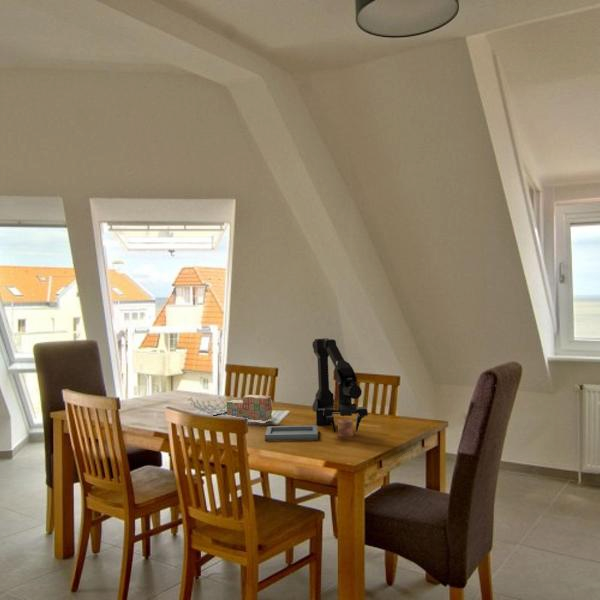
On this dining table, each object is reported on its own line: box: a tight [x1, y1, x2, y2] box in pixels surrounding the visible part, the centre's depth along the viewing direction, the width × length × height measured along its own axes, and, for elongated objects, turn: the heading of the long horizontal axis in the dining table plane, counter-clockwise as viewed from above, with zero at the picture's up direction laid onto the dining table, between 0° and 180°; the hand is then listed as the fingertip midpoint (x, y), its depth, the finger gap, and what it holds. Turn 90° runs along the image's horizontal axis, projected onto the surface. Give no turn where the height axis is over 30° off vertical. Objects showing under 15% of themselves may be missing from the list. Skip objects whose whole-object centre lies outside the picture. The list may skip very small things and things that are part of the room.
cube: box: [337, 419, 354, 438], centre depth 254 cm, size 6×6×6 cm
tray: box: [264, 424, 319, 441], centre depth 255 cm, size 22×16×2 cm
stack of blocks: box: [226, 394, 272, 421], centre depth 287 cm, size 21×6×12 cm, turn 66°
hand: (345, 431), depth 254 cm, fingers open, 9 cm apart
